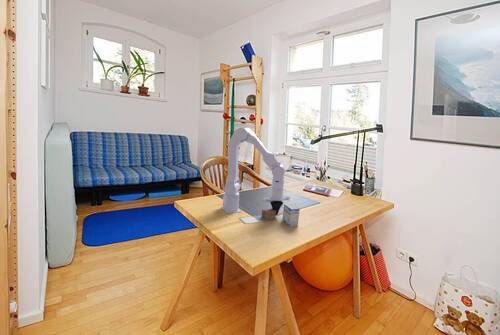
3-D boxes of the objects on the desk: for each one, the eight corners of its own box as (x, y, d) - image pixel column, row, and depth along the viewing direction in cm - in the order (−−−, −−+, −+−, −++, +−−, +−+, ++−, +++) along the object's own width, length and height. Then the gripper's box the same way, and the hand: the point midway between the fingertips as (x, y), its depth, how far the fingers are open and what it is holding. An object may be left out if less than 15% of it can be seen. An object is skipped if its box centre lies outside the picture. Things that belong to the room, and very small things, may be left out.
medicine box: (282, 221, 134) (283, 204, 132) (290, 220, 136) (291, 203, 134) (289, 227, 127) (291, 209, 125) (298, 226, 128) (299, 208, 127)
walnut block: (261, 216, 138) (262, 208, 137) (270, 215, 140) (270, 207, 139) (266, 219, 133) (267, 212, 132) (275, 218, 135) (275, 211, 135)
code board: (237, 218, 133) (237, 218, 133) (274, 214, 143) (274, 213, 143) (244, 224, 126) (244, 224, 126) (282, 219, 136) (282, 219, 136)
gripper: (268, 191, 129) (266, 219, 131) (294, 189, 135) (291, 215, 138) (261, 188, 135) (259, 214, 138) (286, 186, 142) (284, 211, 144)
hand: (275, 214), depth 138 cm, fingers closed
